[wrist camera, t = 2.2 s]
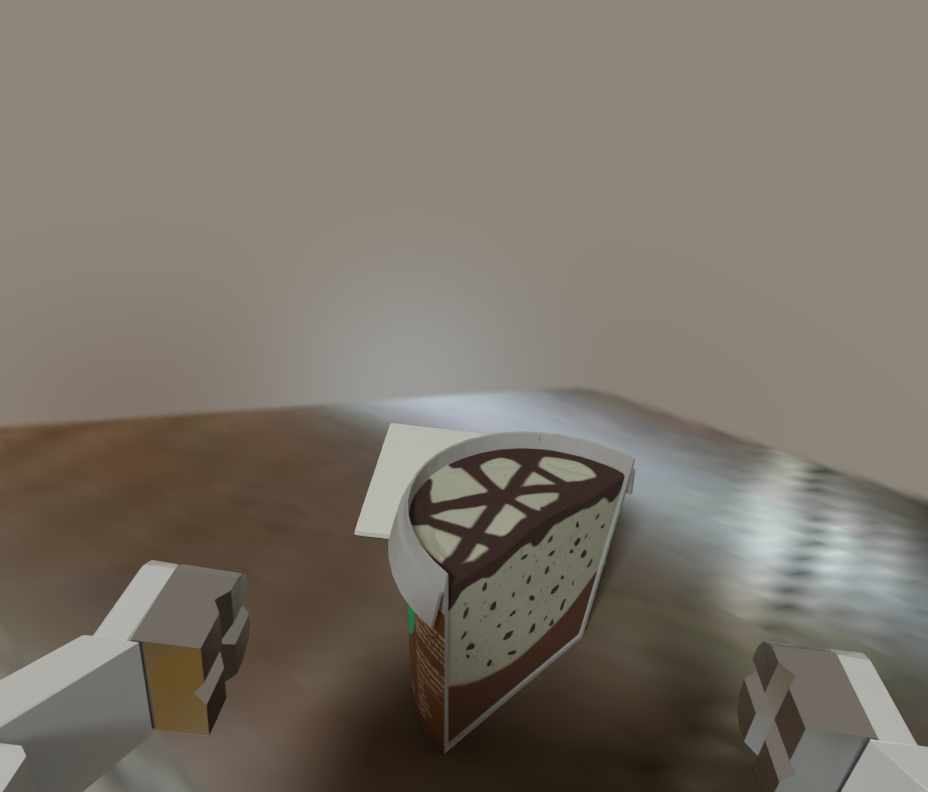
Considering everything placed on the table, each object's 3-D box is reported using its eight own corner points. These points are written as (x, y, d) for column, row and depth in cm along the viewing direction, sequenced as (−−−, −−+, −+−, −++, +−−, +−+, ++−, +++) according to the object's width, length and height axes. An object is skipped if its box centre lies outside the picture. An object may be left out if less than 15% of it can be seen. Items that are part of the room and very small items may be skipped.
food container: (508, 557, 39) (533, 398, 35) (600, 622, 36) (641, 454, 31) (323, 678, 31) (322, 492, 26) (416, 777, 28) (435, 582, 23)
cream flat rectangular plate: (588, 449, 50) (588, 446, 50) (605, 565, 39) (606, 560, 39) (390, 426, 50) (390, 423, 50) (354, 534, 40) (354, 530, 40)
